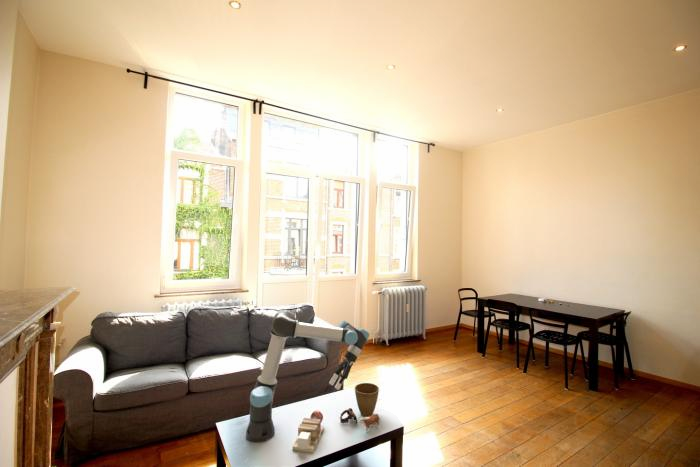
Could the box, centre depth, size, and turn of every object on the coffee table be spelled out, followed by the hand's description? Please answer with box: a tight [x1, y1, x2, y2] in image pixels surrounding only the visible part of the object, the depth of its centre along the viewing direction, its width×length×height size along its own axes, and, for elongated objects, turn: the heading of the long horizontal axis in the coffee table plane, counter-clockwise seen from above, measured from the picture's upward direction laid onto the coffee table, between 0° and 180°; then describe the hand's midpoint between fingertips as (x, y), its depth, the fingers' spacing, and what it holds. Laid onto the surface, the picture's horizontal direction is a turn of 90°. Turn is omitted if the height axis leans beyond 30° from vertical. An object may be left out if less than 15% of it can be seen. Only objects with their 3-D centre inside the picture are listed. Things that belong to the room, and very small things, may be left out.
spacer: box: [297, 431, 311, 449], centre depth 169 cm, size 6×5×5 cm
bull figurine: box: [358, 413, 380, 434], centre depth 188 cm, size 4×13×8 cm, turn 122°
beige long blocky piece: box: [291, 417, 325, 454], centre depth 177 cm, size 20×11×8 cm, turn 170°
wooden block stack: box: [305, 410, 324, 432], centre depth 183 cm, size 20×7×7 cm, turn 170°
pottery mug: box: [339, 407, 359, 425], centre depth 196 cm, size 12×10×8 cm
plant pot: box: [354, 382, 380, 418], centre depth 205 cm, size 15×15×16 cm
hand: (333, 386), depth 193 cm, fingers open, 13 cm apart
